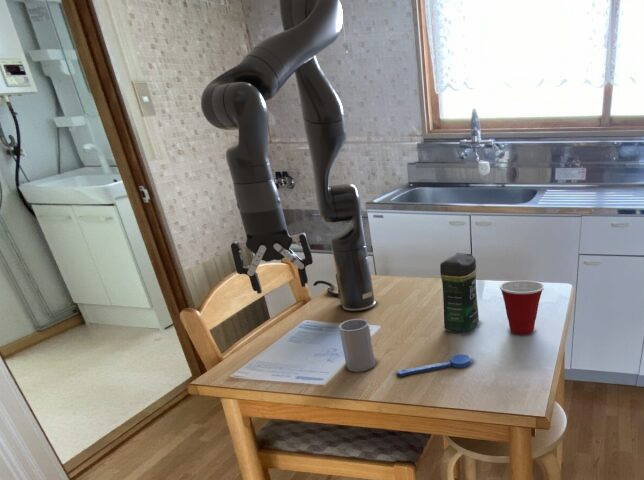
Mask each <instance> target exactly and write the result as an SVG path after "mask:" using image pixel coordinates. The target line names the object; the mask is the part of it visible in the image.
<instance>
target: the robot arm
mask: <svg viewBox="0 0 644 480" xmlns="http://www.w3.org/2000/svg"><path fill="white" fill-rule="evenodd" d="M278 6H279V15H280V20H281V26H282V29H283V31H281V32H278V33H276V34H273V35H270V36H268V37H266V38H264V39H263V40H261V41H259V42H258V43H256V44H255V45H254V46H253V47H252V48H251V49H250V50H249V51H248V53H247V54H245V56H244V57H243V58H242V59H241V60H240V62H239V63H238V64H237V65H235V66H233V67H231V68H230V69H228V70H226V71H224V72H223V73H222V74H220V75H218V76H217V77H215V78H214V79H212V80H211V81H210V82H209V83H208V84H206V85H205V88H204V89H203V90H202V93H201V97H200V109H201V112H202V114H203V117H204V118H205V119H206V121H207V122H208V123H209V124H210V125H212V126H213V127H215V128H217V129H220V130H225V131H233V130H234V131H235V130H238V139H237V144H235V145H232V146H230V147H228V148H227V149H226V150H225V159H226V163H227V166H228V171H229V174H230V177H231V180H232V184H233V189H234V196H235V200H236V206H237V209H238V211H239V215H240V219H241V222H242V225H243V229H244V232H245V236H246V240H244V241H238V240H235V239H234V240H232V242H231V243H230V249H231V253H232V257H233V262H234V267H235V271H236V273H237V274H238V275H246V276H248V278H249V281H250V284H251V287H252V291H254V292H256V293H257V294H258V295H259V294H262V293H263V289H262V286H261V282H260V278H259V274H258V272H256V271H257V269H258V267H259V266H260V264H261V261H262V262H266V263H267V262H268V263H269V262H272V261H283V260H284V259H287V260H288V261H289V262H290V263H292V264H293V265H295V266H296V267H297V273H298V277H299V281H300V285H301V288H304V287H306V285H307V284H308V282H309V279H308V275H307V270H306V267H307V266H311V265H312V264H313V262H314V261H313V255H312V252H311V248H310V245H309V241H308V238H307V234H306V233H305V232H304V231H300V232H299V233H298V234H290V232H289V230H288V227H287V222H286V218H285V215H284V209H283V205H282V200H281V198H280V193H279V190H278V187H277V184H276V182H275V179H274V174H273V170H272V167H271V162H270V159H269V113H268V106H267V104H266V102H268V101H270V100H271V99H273V98H274V97H275V96H276V95H277V93H278V92H279V91H280V90H281V89H282V88H283V86H284V85H285V83H286V82H287V81H288V80H289V79H290V77H291V76H292V75H294V76H295V80H296V81H295V82H296V86H297V91H298V96H299V101H300V102H299V103H300V108H301V109H300V110H301V115H302V122H303V126H304V127H303V128H304V131H305V136H306V141H307V146H308V150H309V155H310V160H311V167H312V173H313V174H312V175H313V181H314V190H315V198H316V206H317V210H318V215H319V216H320V219H321V221H323V222H324V223H325V224H337V223H345V222H346V223H347V222H349V223H348V225H347V226H346V228H344V229H343V230H341V231H339V232H338V233H336V234H334V235H332V236H331V238H330V247H331V252H332V257H333V261H334V267H335V272H336V273H335V280H336V286H337V292H333V290H334V289H335V285H334V284H333V283H331V282H328V281H327V280H316V281H314V283H313V284H312V286H314V287H316V286H317V285H319V284H322V285H326V286H329V288H328V289H327V294H328V295H330V296H334V297H338V299H339V301H340V305H341V306H342V309H343V311H347V312H362V311H366V310H367V311H368V310H370V309H372V308H374V307H375V306H376V299H375V293H374V287H373V279H372V274H371V268H370V267H371V266H370V261H369V255H368V249H367V244H366V243H367V242H366V237H365V232H364V225H363V215H362V205H361V198H360V194H359V190H358V188H357V186H356V185H355V184H353V183H341V184H333V185H329V184H330V177H331V172H332V169H333V167H334V165H335V163H336V161H337V159H338V157H339V155H340V154H341V151H342V149H343V148H344V144H345V141H346V139H347V129H346V120H345V112H344V106H343V104H342V102H341V99H340V97H339V95H338V94H337V92H336V90H335V89H334V87H333V85H332V83H331V82H330V81H329V80H328V78H327V76H326V75H325V73H324V72H323V69H322V68H321V66H320V63H319V62H318V59H317V57H316V56H317V55H318V54H320V53H321V52H322V51H324V50H325V49H327V48H328V47H329V46H331V45H332V44H333V43H335V42H336V41H337V39H338V38H339V36H340V34H341V32H342V29H343V23H344V22H343V21H344V14H343V13H344V12H343V7H342V6H343V5H342V2H341V0H279V1H278ZM293 242H295V243H296V245H297V246H299V247H301V249H302V252H303V256H304V258H302V259H301V257H299V256H298V255H297V254H296V253H295V252H294V251H293V250H292V249H291V246H292V244H293ZM246 248H247V249H248V250H249V251H250V252H251V253H253V254H254V255H253V257H252V260H251V262H250V264H249V265H248V266H247V265H245V264H244V259H243V255H242V254H244V253H245V249H246Z"/></svg>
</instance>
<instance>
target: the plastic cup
mask: <svg viewBox="0 0 644 480" xmlns="http://www.w3.org/2000/svg"><path fill="white" fill-rule="evenodd" d="M544 289H545V285H544V284H543V283H542V282H540V281H539V282H538V281H534V280H520V279H519V280H511V281H505V282H502V283H501V284H499V290H500V291H501V294H502V298H503V301H504V306H505V313H506V318H507V321H508V326H509V330H510V332H511V333H512V334H514V335H516V336H526V335H527V336H528V335H530V334H532V333H533V332H534V330H535V325H536V320H537V316H538V309H539V305H540V300H541V296H542V292H543V291H544Z"/></svg>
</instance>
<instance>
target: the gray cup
mask: <svg viewBox="0 0 644 480" xmlns="http://www.w3.org/2000/svg"><path fill="white" fill-rule="evenodd" d="M338 332H339V336H340V341H341V342H340V343H341V346H342V352H343V356H344V361H345V365H346V368H347V370H348V371H350V372H355V373H359V372H365V371H368V370H371V369H372V368H373V367H375V365H376V357H375V352H374V351H375V350H374V345H373V340H372V333H371V329H370V322H369V321H368V320H366V319H363V318H352V319H348V320H345V321H343V322H341V323H340V324H339V325H338Z"/></svg>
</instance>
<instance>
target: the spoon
mask: <svg viewBox="0 0 644 480" xmlns="http://www.w3.org/2000/svg"><path fill="white" fill-rule="evenodd" d="M471 363H472V358H471V356H470V355H468V354H464V353H459V354H455V355H453V356H451V357H450V359H449V360H447V361H443V362H437V363H432V364H426V365H421V366H415V367H409V368H403V369H402V368H401V369H399V370H397V372H396V373H397V377H398V376H399V377H405V376H409V375H413V374H419V373H425V372H429V371H434V370H435V371H436V370H441V369H445V368H451V367H453V368H455V369H463V368H467V367H469V366H470V365H471Z"/></svg>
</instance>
